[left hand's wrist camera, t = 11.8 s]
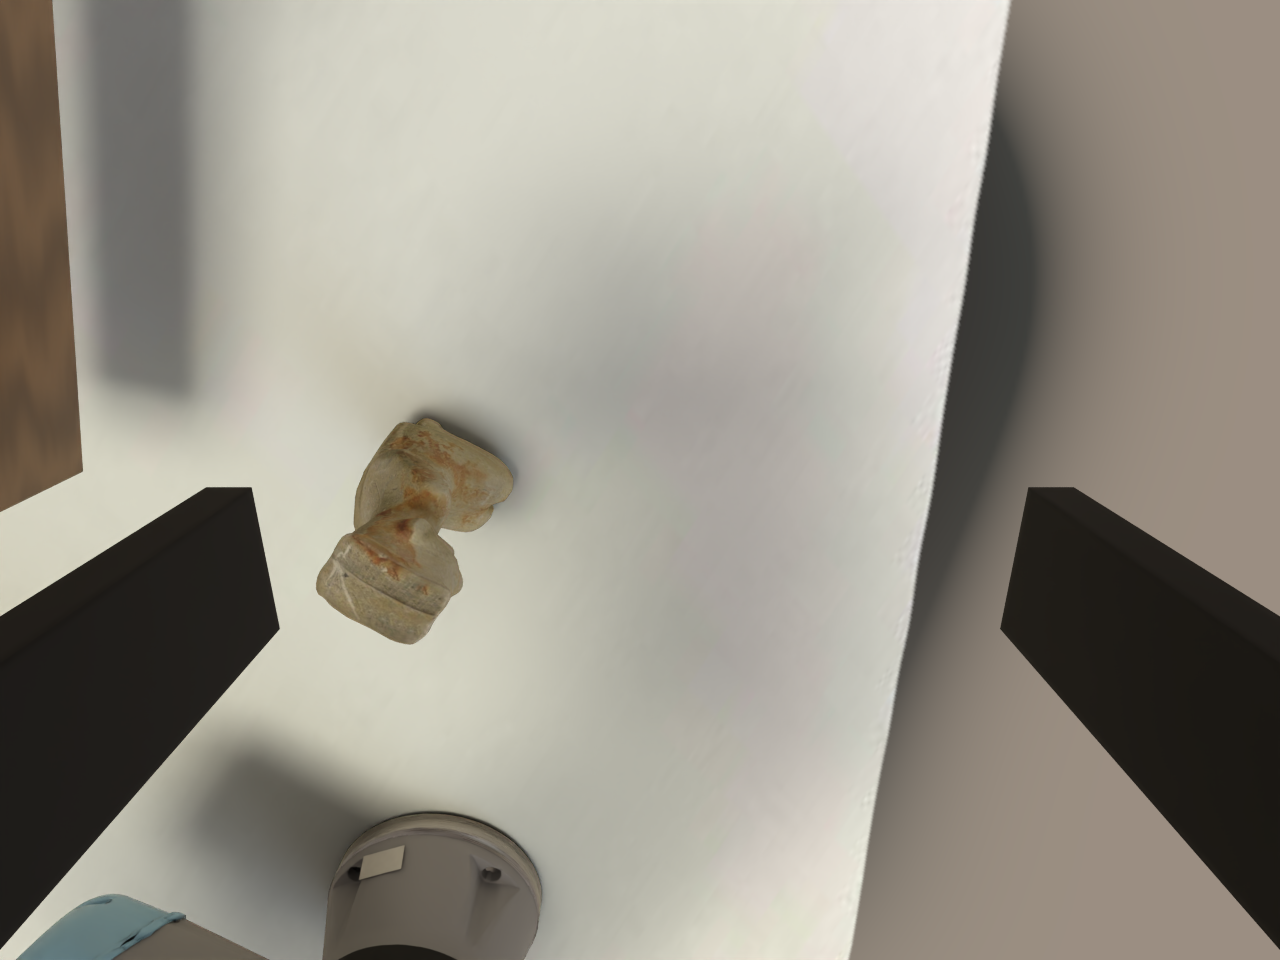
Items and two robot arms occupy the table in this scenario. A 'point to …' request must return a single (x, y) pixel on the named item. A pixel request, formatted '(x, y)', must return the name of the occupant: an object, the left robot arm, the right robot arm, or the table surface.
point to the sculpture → (411, 529)
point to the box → (34, 265)
